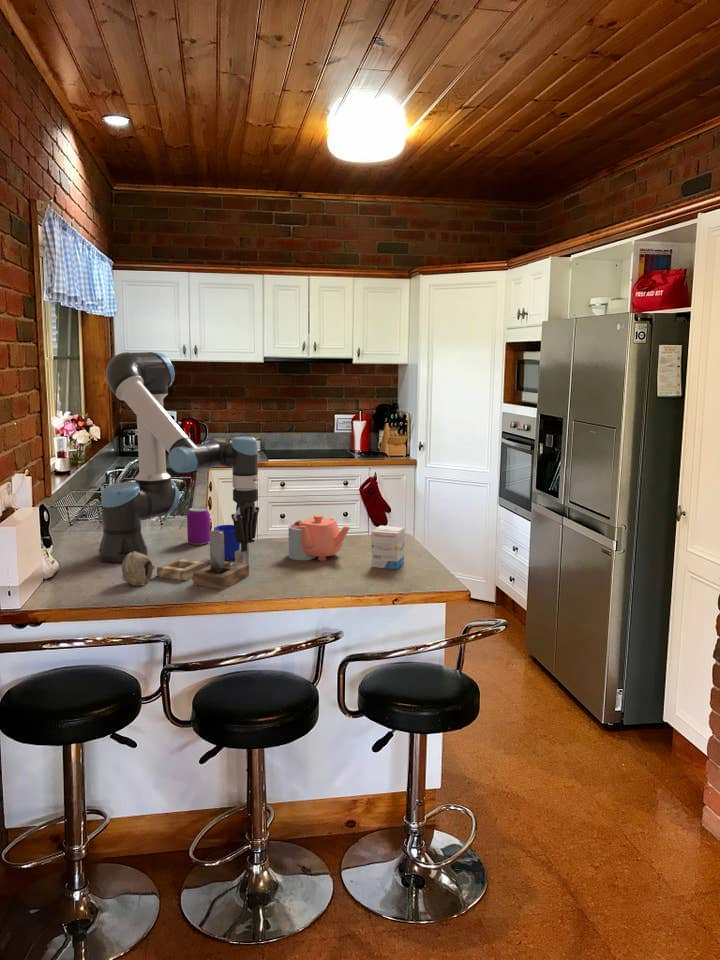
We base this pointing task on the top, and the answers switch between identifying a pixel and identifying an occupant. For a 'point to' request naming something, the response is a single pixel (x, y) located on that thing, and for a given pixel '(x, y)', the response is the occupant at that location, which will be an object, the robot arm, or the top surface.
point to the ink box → (388, 547)
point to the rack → (180, 569)
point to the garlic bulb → (137, 569)
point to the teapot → (321, 536)
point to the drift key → (239, 557)
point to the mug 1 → (229, 541)
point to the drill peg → (217, 552)
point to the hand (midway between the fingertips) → (246, 563)
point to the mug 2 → (296, 544)
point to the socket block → (221, 576)
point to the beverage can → (198, 526)
